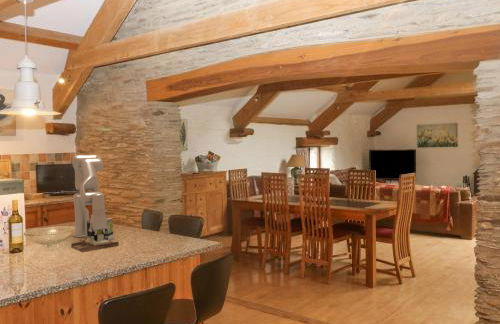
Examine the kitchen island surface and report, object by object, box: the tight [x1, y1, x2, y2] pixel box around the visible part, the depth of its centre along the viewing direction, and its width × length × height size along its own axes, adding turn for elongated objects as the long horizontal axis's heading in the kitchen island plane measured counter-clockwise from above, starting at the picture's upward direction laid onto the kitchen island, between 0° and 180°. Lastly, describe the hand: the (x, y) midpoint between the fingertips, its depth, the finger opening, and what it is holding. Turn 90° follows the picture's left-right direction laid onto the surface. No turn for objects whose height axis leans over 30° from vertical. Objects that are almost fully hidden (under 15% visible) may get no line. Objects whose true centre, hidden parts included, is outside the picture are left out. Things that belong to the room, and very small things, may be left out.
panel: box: [86, 234, 110, 245], centre depth 298 cm, size 14×10×5 cm
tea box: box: [86, 217, 114, 241], centre depth 317 cm, size 15×10×15 cm
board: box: [70, 237, 120, 253], centre depth 297 cm, size 18×24×5 cm
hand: (99, 239), depth 299 cm, fingers closed on panel, 4 cm apart
